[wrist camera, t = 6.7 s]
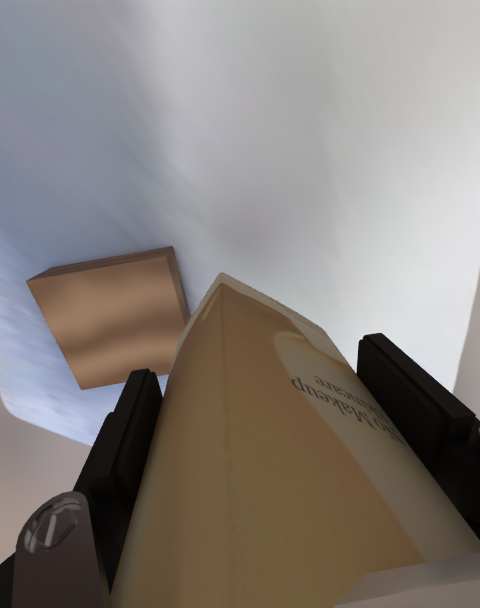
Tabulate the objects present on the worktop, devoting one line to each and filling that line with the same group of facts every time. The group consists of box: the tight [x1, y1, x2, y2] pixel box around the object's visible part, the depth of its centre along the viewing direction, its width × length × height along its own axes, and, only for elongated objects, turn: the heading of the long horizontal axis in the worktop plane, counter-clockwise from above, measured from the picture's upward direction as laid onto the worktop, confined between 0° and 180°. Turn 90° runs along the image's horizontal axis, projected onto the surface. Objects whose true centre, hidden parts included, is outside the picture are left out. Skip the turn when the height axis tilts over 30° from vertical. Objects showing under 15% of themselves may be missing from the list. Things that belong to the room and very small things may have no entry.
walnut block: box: [26, 246, 191, 390], centre depth 32 cm, size 14×14×5 cm
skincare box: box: [110, 273, 480, 608], centre depth 8 cm, size 6×4×12 cm
